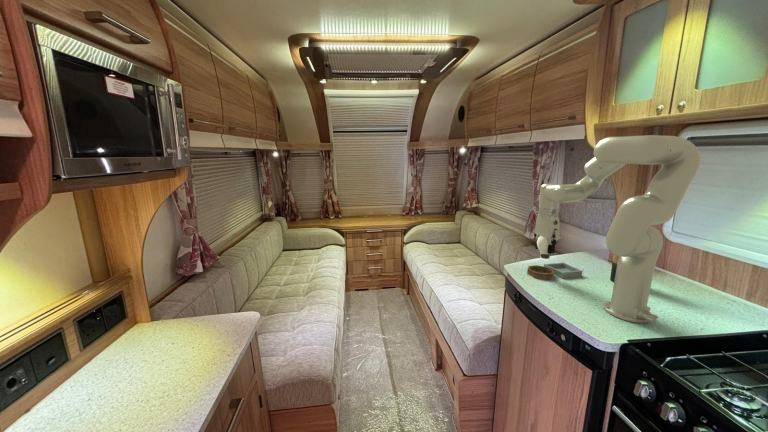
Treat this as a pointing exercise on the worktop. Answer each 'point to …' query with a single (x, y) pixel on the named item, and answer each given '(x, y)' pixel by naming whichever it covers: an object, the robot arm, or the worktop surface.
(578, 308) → the worktop surface
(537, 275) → the holder ring
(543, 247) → the light bulb
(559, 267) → the tray
